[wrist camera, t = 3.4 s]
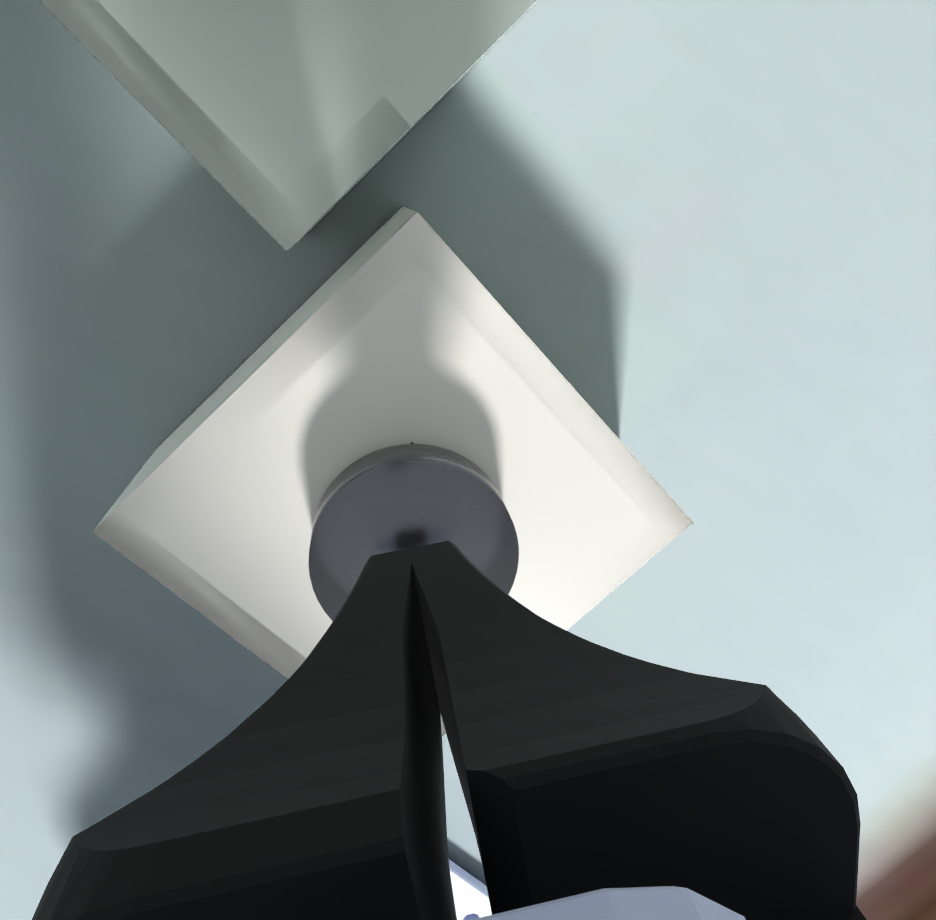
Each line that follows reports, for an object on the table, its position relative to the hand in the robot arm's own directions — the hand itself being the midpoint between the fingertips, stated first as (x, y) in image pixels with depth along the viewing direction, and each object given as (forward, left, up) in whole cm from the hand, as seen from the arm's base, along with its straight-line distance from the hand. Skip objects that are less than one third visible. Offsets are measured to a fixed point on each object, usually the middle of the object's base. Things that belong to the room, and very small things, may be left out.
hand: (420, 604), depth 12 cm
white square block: (0, 0, -7) cm, 7 cm away
